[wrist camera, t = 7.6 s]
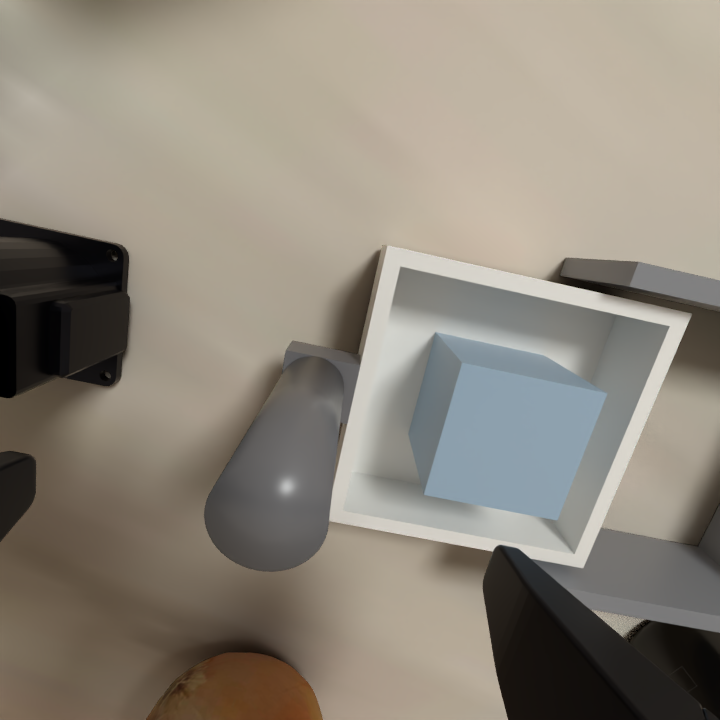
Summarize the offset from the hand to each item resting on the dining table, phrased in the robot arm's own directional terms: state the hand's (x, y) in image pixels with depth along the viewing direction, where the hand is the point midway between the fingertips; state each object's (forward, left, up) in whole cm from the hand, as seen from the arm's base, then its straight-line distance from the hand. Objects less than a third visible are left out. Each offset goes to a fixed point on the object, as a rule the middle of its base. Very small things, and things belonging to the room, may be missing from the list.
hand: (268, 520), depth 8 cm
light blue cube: (+7, 0, -11) cm, 13 cm away
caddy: (+6, 0, -12) cm, 13 cm away
